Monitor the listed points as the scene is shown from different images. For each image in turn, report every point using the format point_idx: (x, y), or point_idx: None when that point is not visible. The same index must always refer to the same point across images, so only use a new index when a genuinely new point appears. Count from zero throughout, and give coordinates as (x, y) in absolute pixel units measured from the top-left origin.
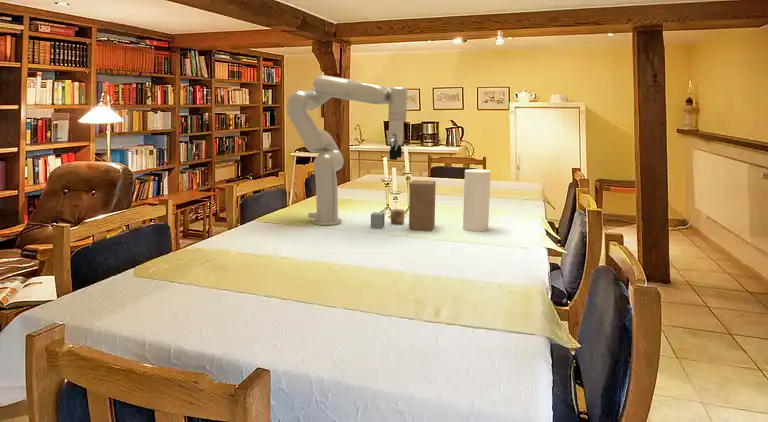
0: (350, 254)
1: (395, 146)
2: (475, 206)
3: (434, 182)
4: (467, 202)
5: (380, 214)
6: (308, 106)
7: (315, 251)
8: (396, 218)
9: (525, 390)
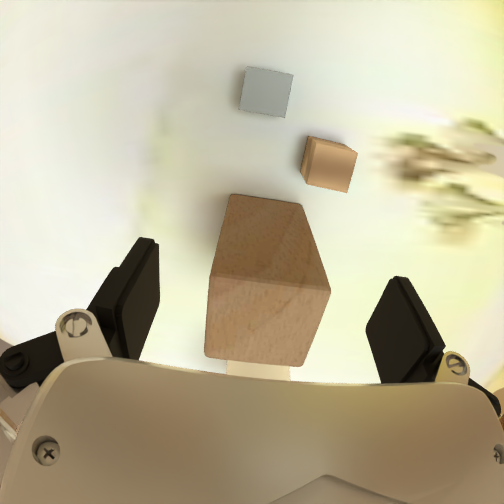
0: (3, 94)
1: (434, 372)
2: None
3: (264, 363)
4: None
5: (248, 103)
6: None
7: (17, 21)
8: (307, 158)
9: None
